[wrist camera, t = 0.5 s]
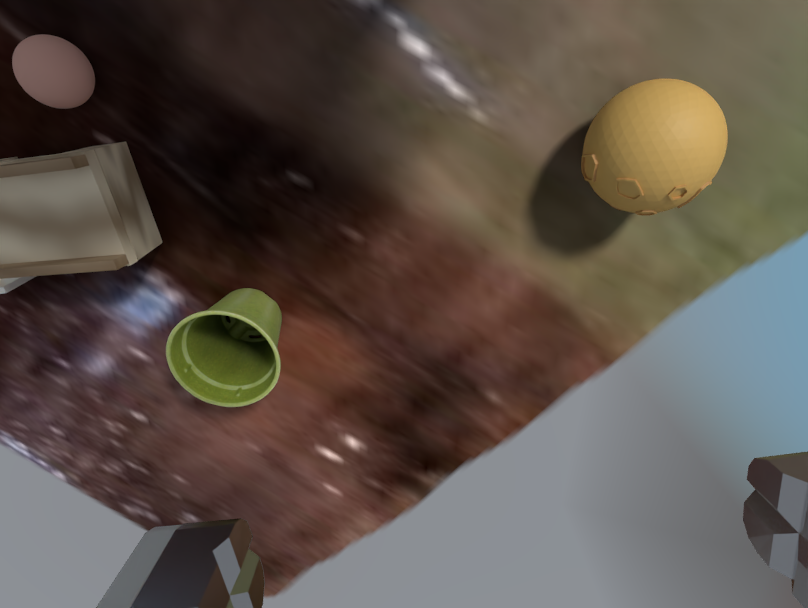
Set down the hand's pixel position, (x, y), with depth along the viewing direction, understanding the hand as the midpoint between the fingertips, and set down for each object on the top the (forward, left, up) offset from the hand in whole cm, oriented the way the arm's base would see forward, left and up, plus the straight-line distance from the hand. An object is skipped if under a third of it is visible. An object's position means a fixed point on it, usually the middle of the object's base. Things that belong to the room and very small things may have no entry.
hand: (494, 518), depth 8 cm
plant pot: (+13, -18, -37) cm, 43 cm away
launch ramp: (0, -30, -37) cm, 48 cm away
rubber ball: (-10, -26, -37) cm, 46 cm away
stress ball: (+1, +18, -37) cm, 42 cm away
